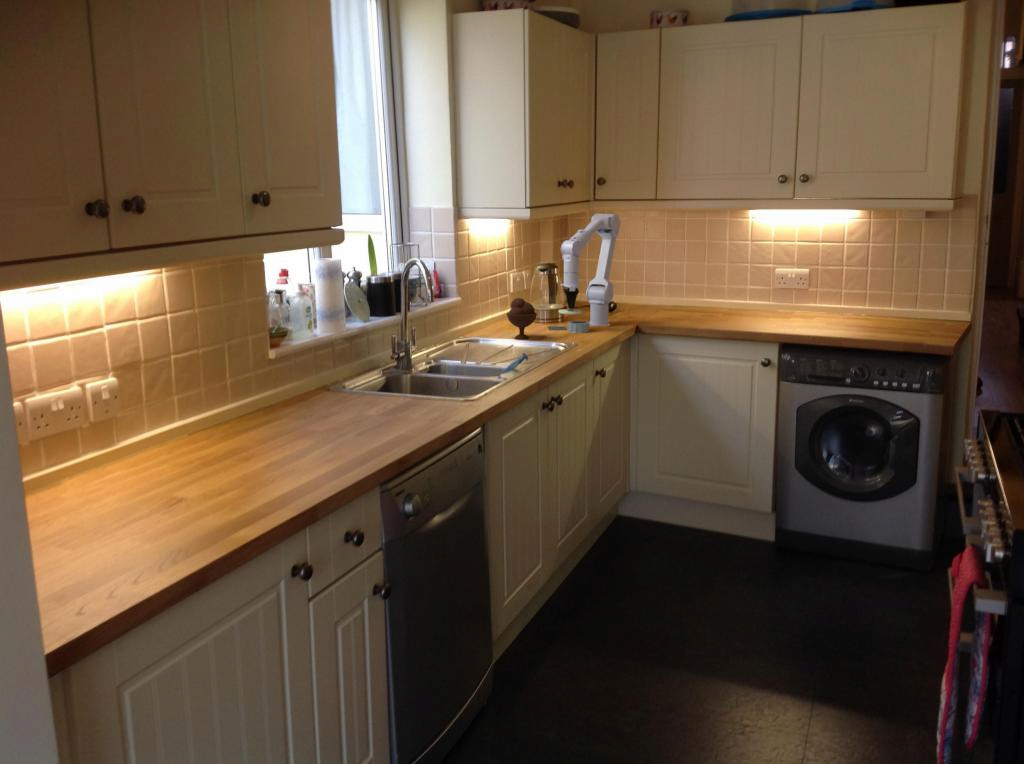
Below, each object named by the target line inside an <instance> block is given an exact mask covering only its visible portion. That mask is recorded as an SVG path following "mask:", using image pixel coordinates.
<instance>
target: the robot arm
mask: <svg viewBox="0 0 1024 764" xmlns="http://www.w3.org/2000/svg"><path fill="white" fill-rule="evenodd" d="M590 220H591V221H590V222H589V223H588V224H587V225H586V227H585V228H584V229H578V230H577V232H576V233H575V234H574V235H573V236H571V237H570V238H569V240H568V239H566V240H564V241H563V242H562V243H561V247H560V253H561V256H562V257H561V258H562V261H563V283H560V287H566V288H563V291H564V294H565V298H566V304H567V303H568V308H569V309H574V310H575V305H576V300H577V297H578V294H579V293H580V290H579V288H578V287H580V283H579V281H580V277H579V276H580V274H579V273H580V256H581V255H582V252H583V249H584V247H585V246H586V245H587V244H588V243H590V241H591V237H592V236H593V235H594V234H595V233H596V234H597V235H598V236H600V237H601V239H602V240H601V246H600V251H599V252H600V253H599V257H598V262H597V267H596V273H595V277H594V278H593V279H592V280H590V281H589V282H588V286H587V289H586V291H585V297H586V299H587V301H588V303H589V305H590V309H589V314H590V315H589V318H590V320H589V321H588V322H589V326H607V327H611V324H610V323H609V304H610V303H611V302H612V300H613V298H614V284H613V283H612V282H611V281H610V273H611V268H612V263H613V257H614V252H615V246H616V241H617V237H618V236H619V233H620V232H619V231H620V227H621V220H620V217H619V214H617V213H613V214H612V213H597V212H596V213H595V214H593V216H591V219H590Z"/></svg>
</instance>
